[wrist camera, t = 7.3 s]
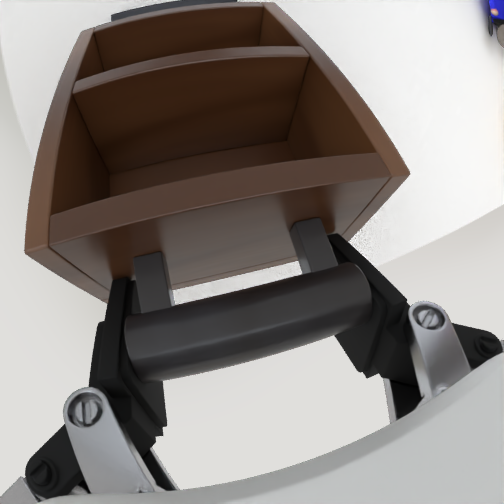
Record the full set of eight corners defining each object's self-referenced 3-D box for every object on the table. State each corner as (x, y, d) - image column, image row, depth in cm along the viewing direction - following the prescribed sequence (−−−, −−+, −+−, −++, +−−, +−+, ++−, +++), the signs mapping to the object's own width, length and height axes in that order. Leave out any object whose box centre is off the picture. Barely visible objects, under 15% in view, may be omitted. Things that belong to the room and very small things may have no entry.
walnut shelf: (365, 320, 11) (461, 283, 6) (123, 383, 9) (36, 397, 4) (262, 79, 16) (274, 2, 11) (104, 107, 14) (80, 31, 9)
